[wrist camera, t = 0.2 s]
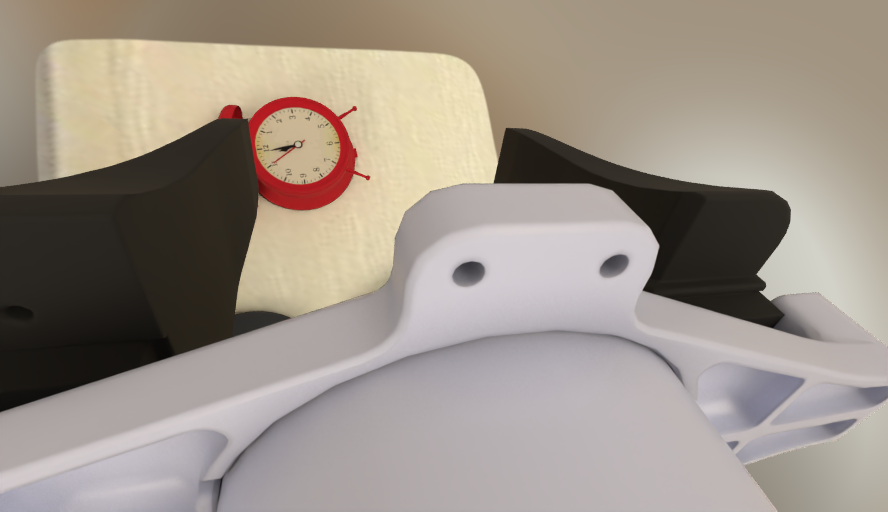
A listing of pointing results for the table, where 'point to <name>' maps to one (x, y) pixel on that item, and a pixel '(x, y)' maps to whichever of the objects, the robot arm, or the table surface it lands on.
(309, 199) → the alarm clock
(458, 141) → the table surface
